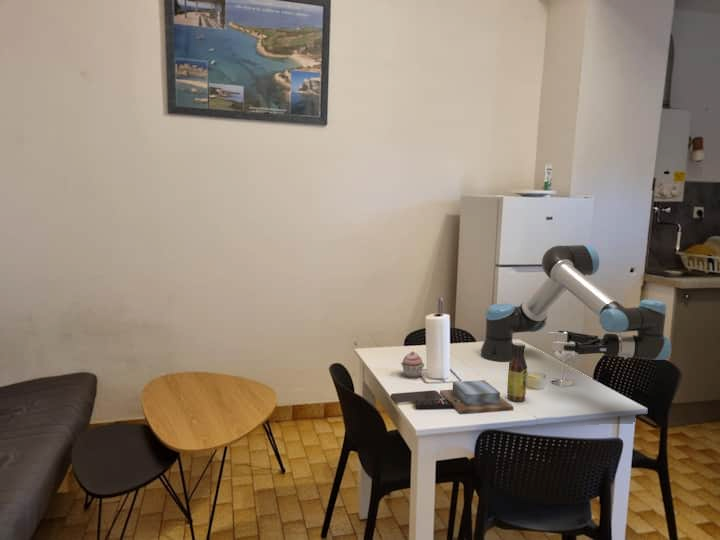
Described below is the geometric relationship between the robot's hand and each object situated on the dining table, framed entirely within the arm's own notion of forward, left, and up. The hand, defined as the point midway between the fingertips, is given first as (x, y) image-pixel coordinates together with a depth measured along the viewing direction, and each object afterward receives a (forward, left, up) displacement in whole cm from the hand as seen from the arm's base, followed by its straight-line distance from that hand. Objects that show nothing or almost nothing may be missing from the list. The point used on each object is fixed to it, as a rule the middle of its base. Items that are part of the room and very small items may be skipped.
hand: (550, 340), depth 177 cm
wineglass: (-17, -17, -22) cm, 33 cm away
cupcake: (+38, -34, -22) cm, 55 cm away
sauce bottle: (+9, -5, -22) cm, 24 cm away
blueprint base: (+24, -5, -22) cm, 33 cm away
